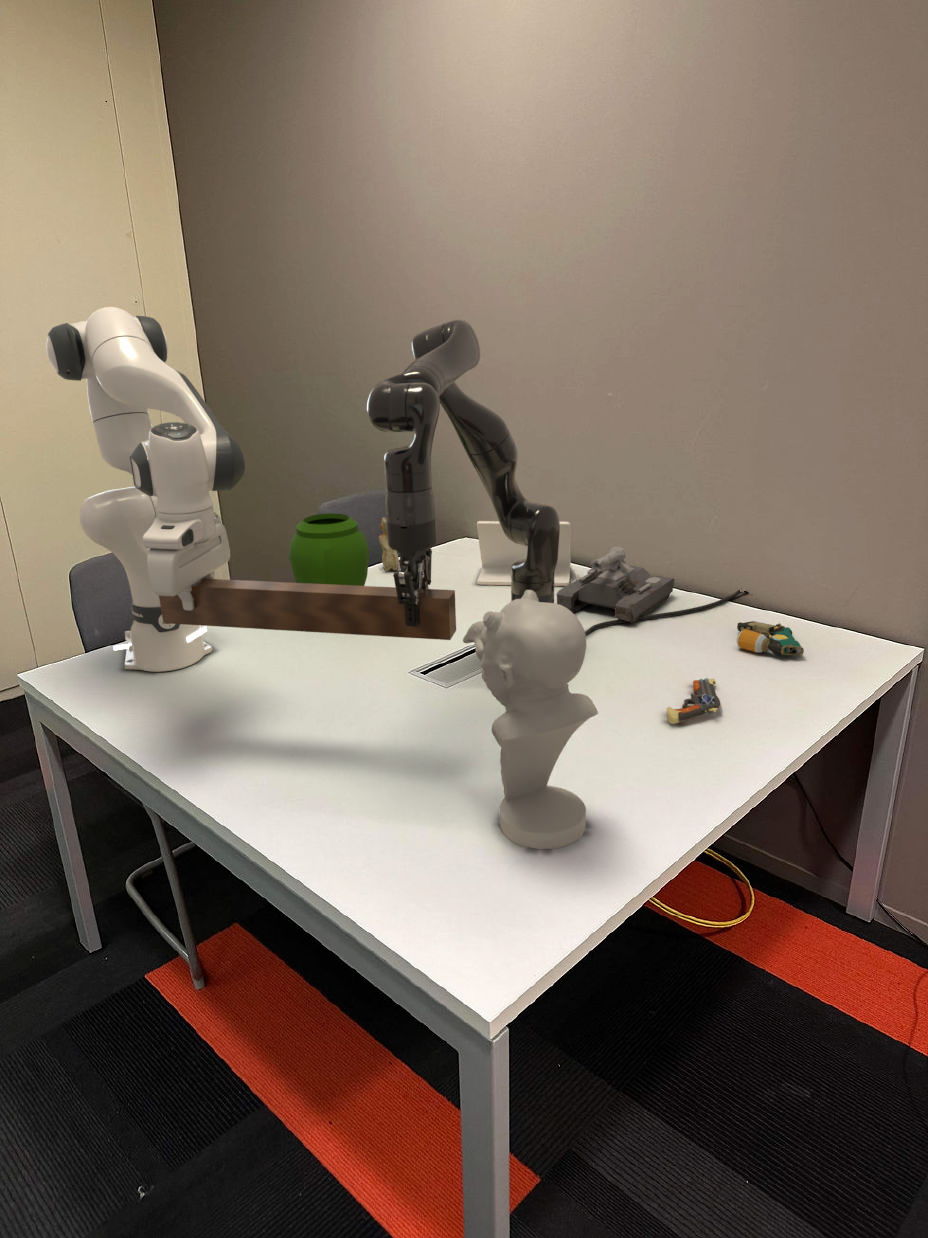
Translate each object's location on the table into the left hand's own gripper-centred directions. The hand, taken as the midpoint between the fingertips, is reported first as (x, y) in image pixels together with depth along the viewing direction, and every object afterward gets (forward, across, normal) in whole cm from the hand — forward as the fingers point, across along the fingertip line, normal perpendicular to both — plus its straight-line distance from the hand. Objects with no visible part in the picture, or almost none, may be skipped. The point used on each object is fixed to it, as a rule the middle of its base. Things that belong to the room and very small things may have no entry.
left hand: (198, 603), depth 146 cm
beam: (+3, 0, +19) cm, 20 cm away
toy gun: (+25, -27, +84) cm, 92 cm away
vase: (+27, -64, -2) cm, 69 cm away
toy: (+26, -81, +67) cm, 108 cm away
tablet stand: (+27, -102, +41) cm, 113 cm away
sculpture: (+27, -102, +1) cm, 106 cm away
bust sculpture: (+25, +16, +58) cm, 65 cm away
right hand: (0, 0, +39) cm, 39 cm away
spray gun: (+25, -60, +101) cm, 120 cm away
